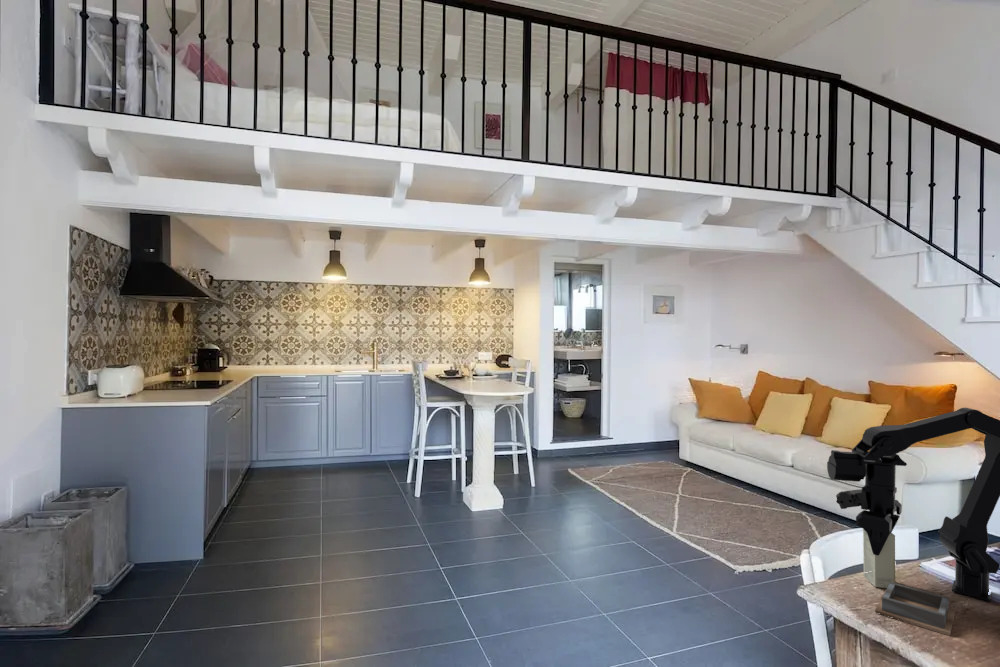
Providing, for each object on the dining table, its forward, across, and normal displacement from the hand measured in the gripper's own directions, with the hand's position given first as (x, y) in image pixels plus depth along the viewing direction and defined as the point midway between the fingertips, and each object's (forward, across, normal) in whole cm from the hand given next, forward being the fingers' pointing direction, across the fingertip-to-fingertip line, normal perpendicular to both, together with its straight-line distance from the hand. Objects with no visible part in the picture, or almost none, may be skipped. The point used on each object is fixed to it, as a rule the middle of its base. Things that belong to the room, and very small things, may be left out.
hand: (879, 549), depth 126 cm
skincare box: (+8, 0, 0) cm, 8 cm away
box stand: (+8, +11, +8) cm, 16 cm away
